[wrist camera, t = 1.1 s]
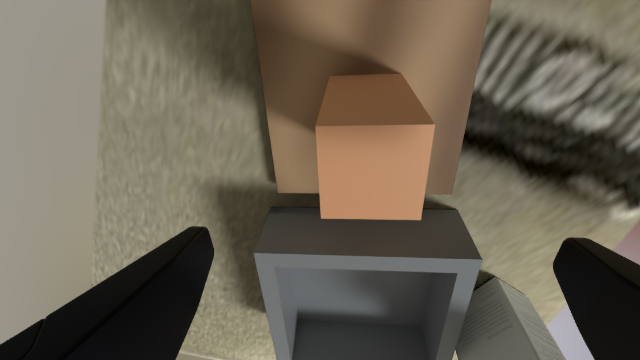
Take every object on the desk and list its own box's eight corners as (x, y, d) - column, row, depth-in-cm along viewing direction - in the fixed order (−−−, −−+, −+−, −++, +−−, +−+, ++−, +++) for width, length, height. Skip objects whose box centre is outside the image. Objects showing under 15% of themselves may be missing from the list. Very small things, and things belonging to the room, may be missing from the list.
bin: (457, 209, 22) (482, 259, 18) (431, 326, 29) (444, 382, 25) (271, 207, 24) (253, 253, 19) (289, 319, 31) (279, 370, 27)
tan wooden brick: (401, 73, 17) (435, 124, 10) (396, 140, 19) (420, 220, 12) (329, 75, 17) (315, 126, 10) (331, 140, 19) (320, 218, 13)
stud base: (486, -16, 15) (548, -22, 11) (447, 186, 21) (475, 240, 17) (255, -2, 17) (215, -2, 12) (280, 185, 23) (261, 235, 18)
